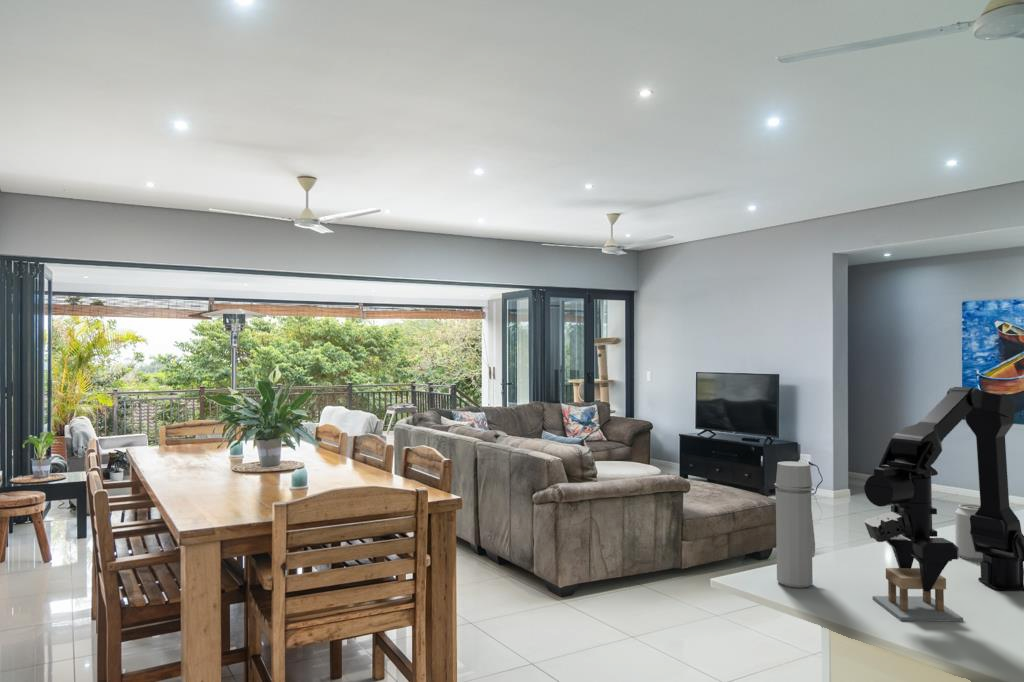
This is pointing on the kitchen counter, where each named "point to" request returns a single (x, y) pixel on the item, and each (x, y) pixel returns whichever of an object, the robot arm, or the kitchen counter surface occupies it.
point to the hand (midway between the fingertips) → (915, 583)
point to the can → (966, 532)
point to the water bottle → (794, 524)
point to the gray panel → (917, 609)
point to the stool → (913, 587)
